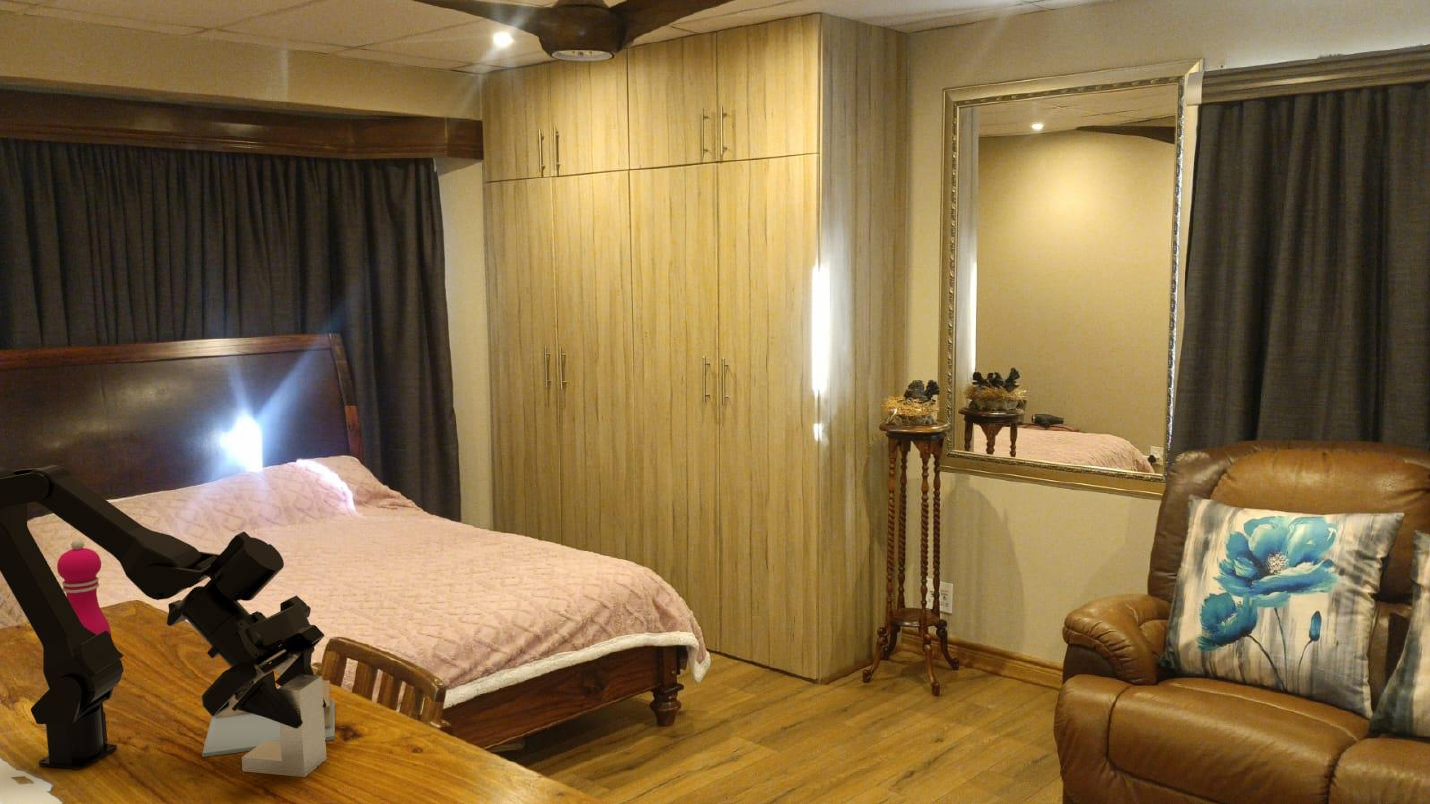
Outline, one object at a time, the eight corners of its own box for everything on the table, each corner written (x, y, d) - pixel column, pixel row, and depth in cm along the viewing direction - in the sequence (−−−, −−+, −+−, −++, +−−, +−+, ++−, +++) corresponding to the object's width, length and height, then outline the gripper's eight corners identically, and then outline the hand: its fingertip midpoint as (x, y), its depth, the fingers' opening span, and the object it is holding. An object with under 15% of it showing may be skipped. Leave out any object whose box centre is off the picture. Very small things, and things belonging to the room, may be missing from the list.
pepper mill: (123, 656, 185) (113, 533, 183) (94, 672, 178) (84, 545, 176) (80, 655, 186) (70, 533, 183) (50, 671, 179) (39, 544, 176)
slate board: (202, 757, 148) (202, 753, 148) (212, 718, 160) (212, 714, 160) (334, 739, 153) (334, 736, 153) (334, 703, 165) (334, 700, 165)
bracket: (242, 771, 144) (236, 685, 142) (266, 754, 149) (260, 671, 147) (304, 777, 142) (299, 690, 141) (326, 759, 147) (321, 675, 145)
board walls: (209, 747, 151) (207, 721, 150) (216, 717, 160) (214, 693, 160) (330, 731, 155) (329, 706, 155) (330, 703, 165) (329, 680, 164)
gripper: (217, 606, 133) (310, 705, 133) (306, 563, 152) (388, 650, 151) (162, 667, 136) (252, 765, 135) (256, 618, 154) (336, 704, 153)
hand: (312, 717), depth 144 cm, fingers closed on bracket, 5 cm apart
